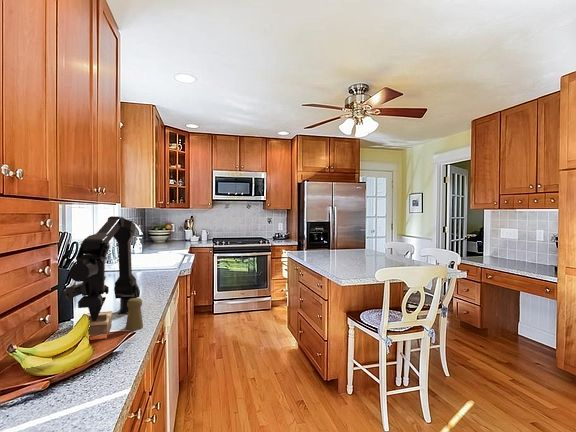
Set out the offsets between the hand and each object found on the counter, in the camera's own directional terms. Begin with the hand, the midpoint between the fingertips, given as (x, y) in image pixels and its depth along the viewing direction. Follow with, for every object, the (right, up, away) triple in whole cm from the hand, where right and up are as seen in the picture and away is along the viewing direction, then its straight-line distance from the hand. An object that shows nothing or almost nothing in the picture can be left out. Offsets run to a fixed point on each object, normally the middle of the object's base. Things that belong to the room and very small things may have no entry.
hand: (94, 320), depth 108 cm
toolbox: (-2, -6, +5) cm, 8 cm away
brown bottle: (+8, -7, +11) cm, 15 cm away
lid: (-2, -2, +6) cm, 6 cm away
